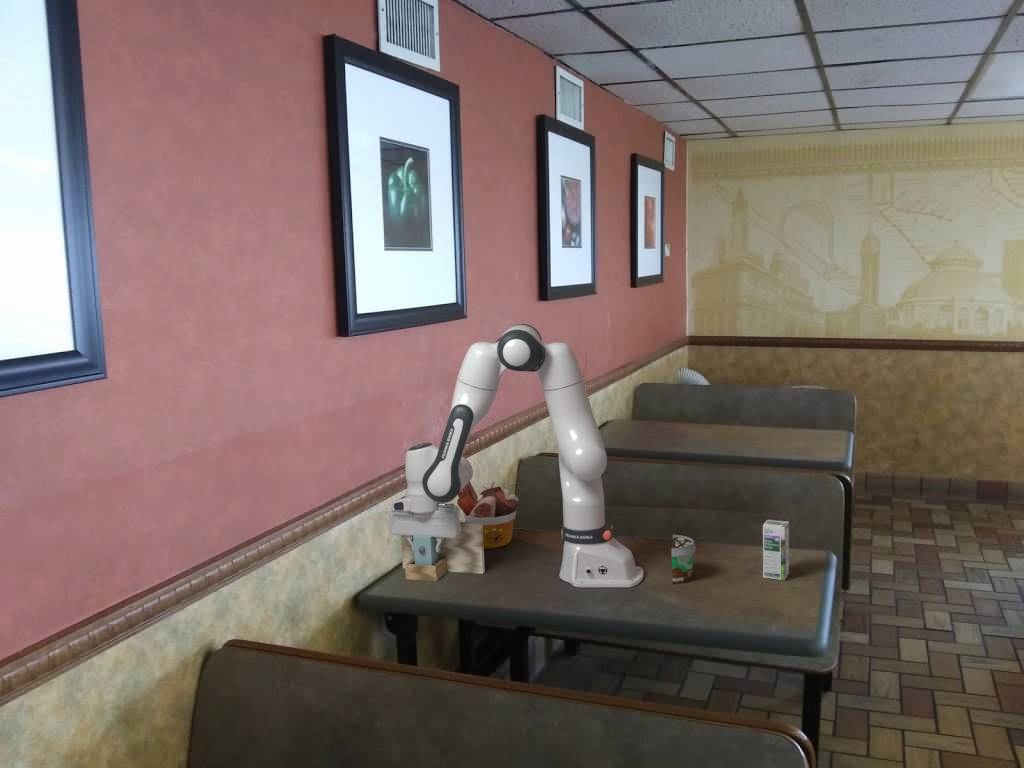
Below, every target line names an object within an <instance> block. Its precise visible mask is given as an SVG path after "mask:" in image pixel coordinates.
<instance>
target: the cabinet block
mask: <svg viewBox="0 0 1024 768" xmlns="http://www.w3.org/2000/svg"><path fill="white" fill-rule="evenodd" d="M413 541H414V557H415V565H430V566H434V565H435V564H436V563H437V562H439V555H438V553H436V552H434V551H433V550H434V549H433V546H435V545H437V543H438V541H436V537H431V536H413Z"/></svg>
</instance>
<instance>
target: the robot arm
mask: <svg viewBox="0 0 1024 768" xmlns="http://www.w3.org/2000/svg"><path fill="white" fill-rule="evenodd" d="M506 369H508V370H510V371H514V372H528V373H529V372H530V373H534V372H536V373H537V376H538V377H539V378H538V379H539V381H540V385H541V388H542V392H543V396H544V399H545V403H546V406H547V410H548V415H549V417H550V421H551V425H552V427H553V430H554V433H555V436H556V439H557V443H558V447H557V449H558V453H557V454H558V455H557V456H558V465H559V466H558V468H559V476H560V486H561V493H562V516H563V517H562V518H563V523H562V524H561V540H562V545H563V550H562V551H563V553H562V559H561V561H562V562H561V565H560V570H559V575H558V576H559V578H560V579H561V580H563V581H565V582H566V583H568V584H571V585H572V586H573V587H575V588H633V587H635V586H637V585H639V584H640V583H641V582H642V581H643V579H644V577H645V573H644V569H643V568H642V567H641V566H636V563H635V558H634V555H633V553H632V551H631V549H629V548H628V547H626V546H625V545H623V544H622V543H621V542H619V541H618V540H617V539H615V538H614V536H613V534H614V533H613V530H614V526H613V525H612V524H611V525H609V524H608V523H606V515H605V493H604V488H603V480H602V475H603V474H604V472H605V470H606V468H607V463H608V457H607V451H606V449H605V446H604V445H605V444H604V442H603V438H602V435H601V433H600V430H599V427H598V423H597V421H596V417H595V415H594V411H593V408H592V406H591V402H590V399H589V395H588V391H587V386H586V384H585V383H586V382H585V380H584V376H583V372H582V370H581V369H582V368H581V367H580V364H579V361H578V359H577V357H576V354H575V353H574V351H573V348H572V347H571V346H570V345H569V344H567V343H565V342H560V341H555V342H550V343H546V342H544V341H543V339H542V335H541V334H540V332H539V331H538V329H536V327H534V326H532V325H531V324H527V323H517V324H515V325H512V326H511V327H509V328H508V329H507V330H505V331H504V332H503V333H502V335H501V336H500V337H499V338H498V339H496V341H495V343H492V342H488V341H478V342H474V343H472V345H470V346H469V347H468V350H467V352H466V353H465V356H464V358H463V360H462V363H461V365H460V369H459V371H458V375H457V378H456V381H455V386H454V390H453V395H452V400H451V405H450V410H449V415H448V419H447V423H446V426H445V429H444V433H443V435H442V437H441V442H440V444H439V447H437V446H436V445H435V444H434V443H432V442H431V443H430V442H423V443H420V444H419V443H418V444H417V445H413V446H411V447H410V448H409V449H407V451H406V454H405V462H404V470H405V471H404V474H405V480H406V484H407V486H406V487H407V488H406V495H404V496H400V497H399V498H397V499H395V500H394V501H392V502H391V503H390V504H389V506H390V508H389V509H390V510H391V511H390V512H389V515H388V530H389V532H390V534H391V535H393V536H401V535H406V536H407V539H408V541H409V542H410V544H411V545H412V551H414V541H413V536H431V537H436V541H438V543H437V545H435V546H433V549H434V550H433V551H434V552H436V553H439V552H440V550H441V548H440V545H441V543H442V542H443V540H444V538H456V537H457V536H458V535H459V534H460V533H461V525H460V522H461V520H460V518H461V517H460V514H461V513H460V507H459V506H458V505H455V504H454V503H449V502H453V500H455V498H457V496H458V493H459V492H460V491H461V490H462V489H463V488H464V487H465V486H466V485H467V484H468V483H469V482H471V480H472V478H473V475H474V474H473V473H474V471H473V467H472V464H471V463H470V461H469V460H468V459H467V458H466V457H464V456H463V455H464V451H465V449H466V445H467V444H468V443H467V442H468V439H469V437H470V435H471V433H472V432H473V430H474V429H475V427H476V426H477V425H478V424H479V423H480V422H481V420H482V419H483V418H485V416H487V414H488V412H489V411H490V409H491V407H492V405H493V404H494V401H495V398H496V395H497V393H498V389H499V386H500V382H501V379H502V376H503V373H504V372H505V371H506Z"/></svg>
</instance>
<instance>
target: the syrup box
mask: <svg viewBox="0 0 1024 768" xmlns="http://www.w3.org/2000/svg"><path fill="white" fill-rule="evenodd" d="M762 561H763V563H762V567H763V568H762V576H763V577H762V578H763V579H769V580H770V579H771V580H779V581H785V580H786V579H787V577H788V575H789V573H790V521H788V520H787V521H784V520H774V519H773V520H772V519H767V520H766V521H765V522H764V523H763V524H762Z"/></svg>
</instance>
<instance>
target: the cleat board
mask: <svg viewBox="0 0 1024 768" xmlns="http://www.w3.org/2000/svg"><path fill="white" fill-rule="evenodd" d="M460 525H461V533H460V534H459V535H458V536H457V537H456V538H444V540H443V542H442V543H441V545H440V548H441V550H440V552H439V553H438V555H439V562H437V563H436V564H435V565H434V566H430V565H415V557H414V551H412V545H411V544H410V542H409V541H408V539H407V536H406V535H400V541H401V544H400V545H401V560H402V569H405V571H404V572H405V580H412V581H423V582H424V581H426V582H427V581H428V582H437V581H439V580H440V579H441V578H442V577H443V576H444V575H446V574H447V573H448V572H450V573H451V572H452V573H466V574H477V575H478V574H481V575H484V574H485V572H486V571H485V570H486V567H485V565H486V564H485V551H484V550H485V549H484V545H483V525H482V523H474V522H466V521H460Z"/></svg>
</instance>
